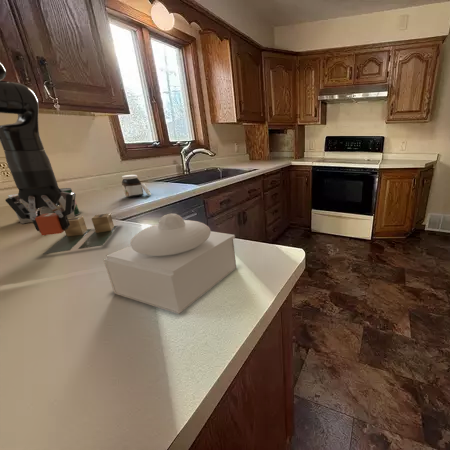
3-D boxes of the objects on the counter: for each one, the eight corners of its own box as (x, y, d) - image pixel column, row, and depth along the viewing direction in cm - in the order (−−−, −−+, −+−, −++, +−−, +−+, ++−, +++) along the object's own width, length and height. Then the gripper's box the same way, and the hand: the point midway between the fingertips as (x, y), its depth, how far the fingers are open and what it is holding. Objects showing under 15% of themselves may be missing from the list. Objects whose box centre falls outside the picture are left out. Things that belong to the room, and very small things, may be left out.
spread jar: (123, 197, 135) (117, 175, 131) (144, 193, 143) (140, 173, 139) (132, 199, 128) (127, 177, 124) (154, 195, 137) (150, 174, 133)
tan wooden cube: (66, 236, 78) (61, 221, 76) (72, 232, 81) (66, 217, 80) (83, 234, 79) (78, 219, 78) (87, 230, 83) (82, 216, 81)
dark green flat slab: (41, 259, 66) (39, 255, 65) (71, 234, 83) (70, 231, 83) (104, 249, 71) (103, 245, 71) (120, 227, 88) (119, 224, 88)
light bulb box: (54, 214, 105) (45, 189, 101) (58, 217, 101) (48, 191, 97) (18, 221, 97) (6, 194, 93) (21, 224, 93) (8, 197, 90)
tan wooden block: (95, 232, 81) (91, 218, 79) (99, 228, 84) (95, 214, 83) (111, 230, 82) (106, 216, 80) (114, 226, 86) (110, 213, 84)
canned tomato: (51, 217, 101) (40, 191, 97) (73, 212, 108) (64, 187, 104) (62, 219, 98) (52, 192, 95) (84, 213, 105) (75, 188, 102)
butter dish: (114, 295, 50) (91, 222, 45) (183, 256, 66) (172, 199, 60) (179, 316, 44) (161, 234, 38) (238, 268, 60) (231, 205, 54)
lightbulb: (60, 228, 89) (49, 198, 85) (61, 224, 93) (50, 195, 89) (82, 224, 92) (72, 195, 89) (82, 220, 97) (72, 193, 93)
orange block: (41, 235, 66) (34, 217, 65) (49, 230, 70) (42, 213, 68) (61, 233, 68) (55, 215, 66) (67, 228, 71) (62, 211, 70)
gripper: (72, 165, 69) (90, 223, 75) (3, 168, 64) (28, 229, 69) (60, 168, 62) (81, 231, 68) (-18, 171, 57) (12, 239, 63)
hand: (54, 230), depth 69 cm, fingers closed on orange block, 4 cm apart
